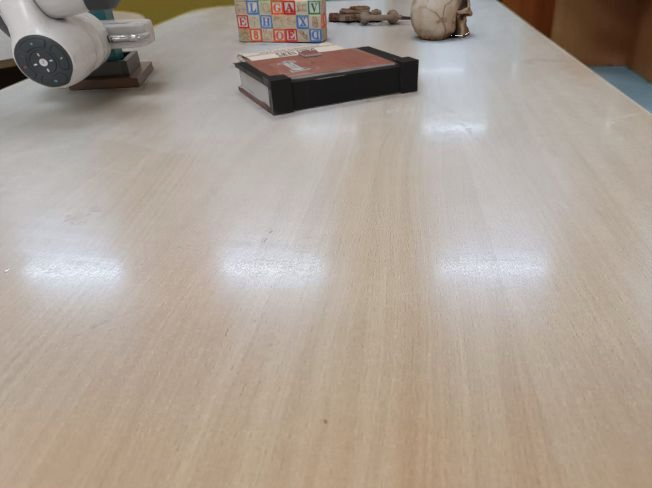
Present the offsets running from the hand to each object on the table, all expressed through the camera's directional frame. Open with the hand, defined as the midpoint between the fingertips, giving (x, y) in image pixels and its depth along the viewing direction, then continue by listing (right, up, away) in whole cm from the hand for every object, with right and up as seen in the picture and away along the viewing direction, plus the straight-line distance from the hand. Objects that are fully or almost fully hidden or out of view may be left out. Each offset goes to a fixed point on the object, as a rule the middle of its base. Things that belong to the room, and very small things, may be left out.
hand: (102, 27), depth 93 cm
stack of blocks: (+28, +13, +35) cm, 47 cm away
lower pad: (0, -8, +4) cm, 9 cm away
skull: (+68, +16, +38) cm, 79 cm away
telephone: (+53, +29, +58) cm, 83 cm away
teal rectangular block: (0, -5, +2) cm, 6 cm away
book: (+41, -13, -4) cm, 43 cm away
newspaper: (+32, 0, +16) cm, 36 cm away
